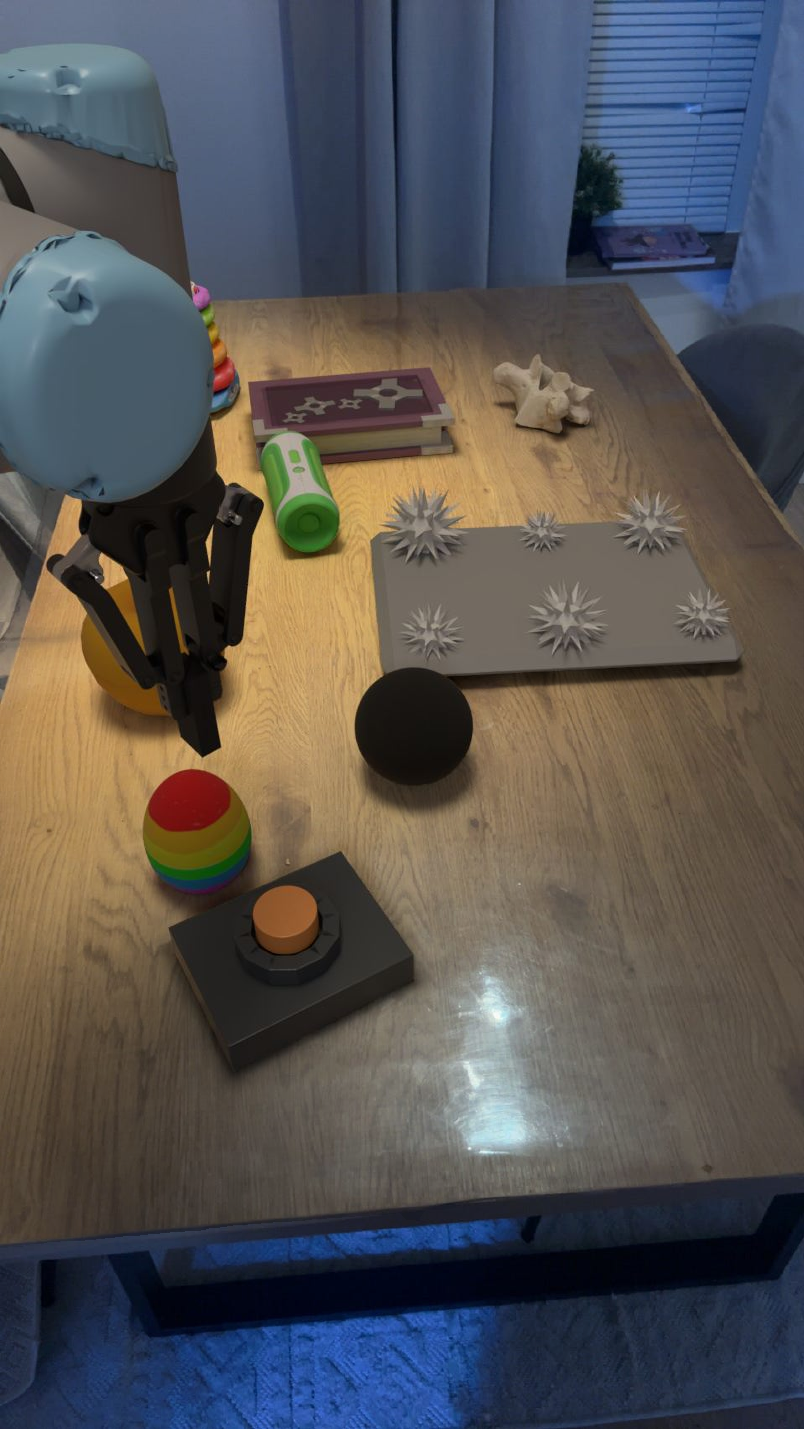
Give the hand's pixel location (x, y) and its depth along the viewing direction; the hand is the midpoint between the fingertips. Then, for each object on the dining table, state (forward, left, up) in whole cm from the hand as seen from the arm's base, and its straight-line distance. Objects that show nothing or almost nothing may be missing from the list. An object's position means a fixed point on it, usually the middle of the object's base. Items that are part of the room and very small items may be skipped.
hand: (200, 741), depth 68 cm
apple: (+4, +26, -17) cm, 31 cm away
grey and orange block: (+1, -8, -17) cm, 19 cm away
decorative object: (+68, +53, -17) cm, 88 cm away
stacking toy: (+30, +85, -17) cm, 92 cm away
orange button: (+1, -8, -12) cm, 15 cm away
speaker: (+29, +48, -17) cm, 58 cm away
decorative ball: (+19, +5, -17) cm, 26 cm away
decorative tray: (+43, +19, -17) cm, 50 cm away
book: (+44, +64, -17) cm, 79 cm away
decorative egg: (-1, +4, -17) cm, 17 cm away
